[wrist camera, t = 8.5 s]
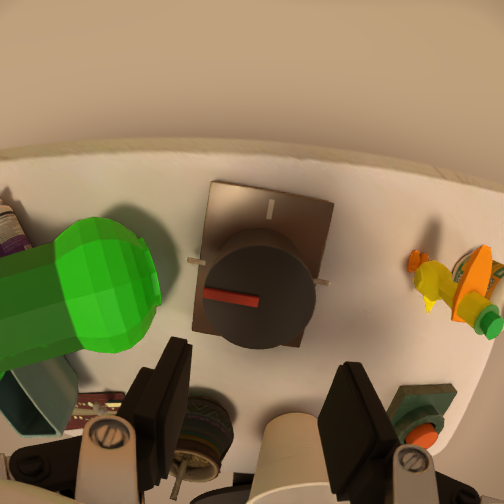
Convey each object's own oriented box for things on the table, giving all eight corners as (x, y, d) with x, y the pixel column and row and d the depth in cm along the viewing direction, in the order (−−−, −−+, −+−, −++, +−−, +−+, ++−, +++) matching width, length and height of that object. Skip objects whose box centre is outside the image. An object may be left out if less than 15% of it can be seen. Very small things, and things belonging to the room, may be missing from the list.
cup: (228, 429, 29) (219, 510, 19) (296, 381, 28) (311, 470, 17) (288, 463, 31) (294, 535, 20) (353, 423, 29) (378, 498, 19)
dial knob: (311, 236, 22) (329, 257, 16) (292, 318, 24) (301, 358, 18) (221, 220, 22) (209, 236, 16) (209, 304, 24) (195, 342, 18)
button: (423, 441, 27) (428, 451, 25) (400, 444, 27) (404, 455, 25) (437, 421, 26) (443, 430, 24) (413, 423, 26) (419, 433, 24)
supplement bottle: (456, 312, 26) (511, 358, 16) (441, 273, 25) (504, 314, 15) (490, 281, 25) (548, 316, 16) (477, 241, 24) (544, 269, 15)
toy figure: (412, 219, 24) (505, 254, 12) (442, 229, 24) (535, 266, 12) (390, 292, 25) (461, 364, 14) (420, 298, 25) (495, 364, 14)
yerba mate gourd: (243, 395, 28) (238, 474, 18) (227, 440, 30) (219, 510, 20) (172, 378, 28) (144, 451, 18) (165, 424, 30) (143, 492, 20)
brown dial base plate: (306, 337, 26) (310, 350, 24) (185, 318, 26) (180, 330, 24) (338, 203, 24) (346, 205, 21) (203, 178, 23) (198, 179, 21)
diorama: (171, 436, 30) (164, 458, 27) (30, 427, 32) (20, 440, 29) (136, 379, 28) (125, 400, 24) (-2, 381, 30) (-14, 394, 26)
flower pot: (16, 337, 28) (-28, 374, 19) (54, 318, 27) (4, 360, 18) (54, 395, 30) (21, 438, 21) (98, 384, 29) (63, 437, 20)
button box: (417, 440, 31) (425, 457, 27) (366, 445, 30) (373, 465, 27) (451, 383, 28) (464, 400, 25) (399, 385, 28) (411, 405, 25)
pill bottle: (-2, 304, 21) (-41, 223, 20) (33, 282, 26) (-5, 209, 25) (10, 284, 19) (-32, 192, 18) (51, 260, 24) (9, 179, 23)
